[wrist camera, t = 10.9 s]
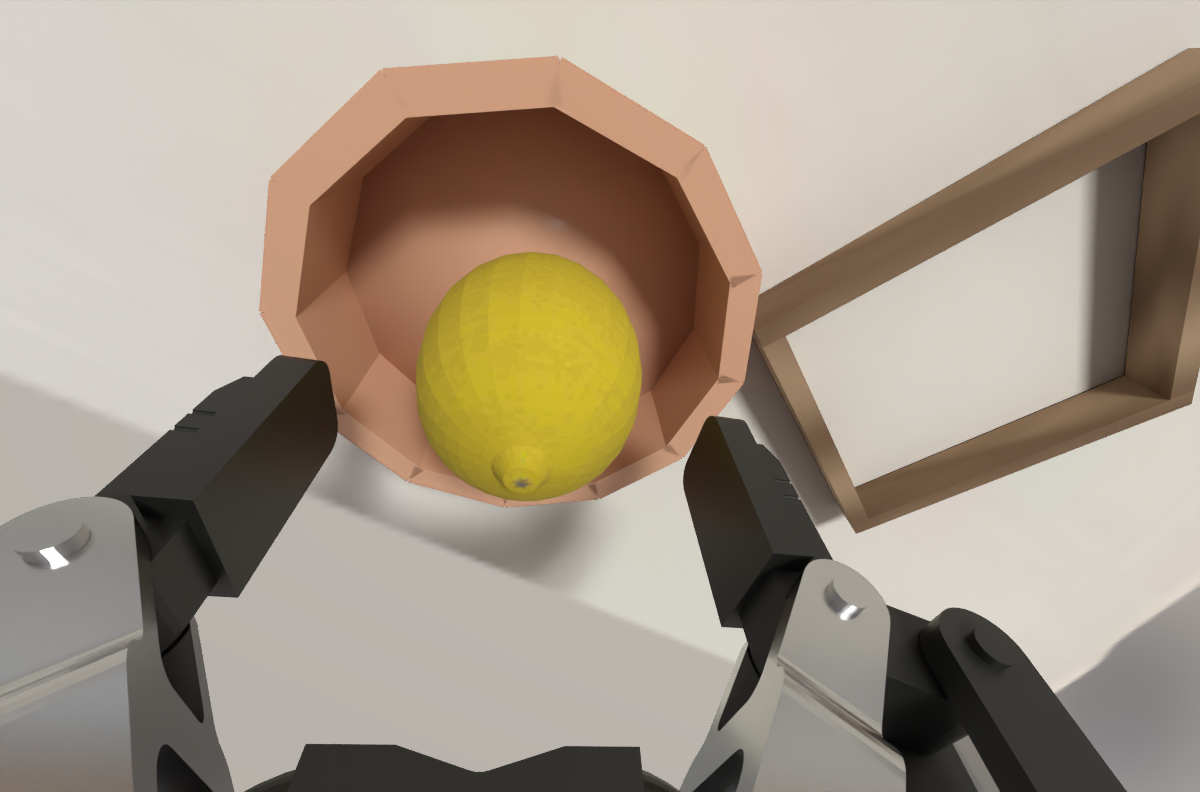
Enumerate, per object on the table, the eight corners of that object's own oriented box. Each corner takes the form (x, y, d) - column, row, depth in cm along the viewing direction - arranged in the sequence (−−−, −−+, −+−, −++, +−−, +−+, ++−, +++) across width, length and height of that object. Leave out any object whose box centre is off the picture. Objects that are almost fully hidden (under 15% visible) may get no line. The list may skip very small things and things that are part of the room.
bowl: (768, 331, 17) (816, 393, 14) (509, 472, 20) (499, 548, 17) (577, -67, 10) (582, -129, 7) (245, 243, 14) (149, 296, 11)
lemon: (454, 362, 16) (376, 560, 9) (458, 199, 13) (345, 329, 6) (605, 383, 17) (628, 577, 10) (643, 236, 14) (710, 383, 7)
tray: (1144, 378, 19) (1191, 403, 18) (838, 504, 23) (856, 533, 22) (1188, 48, 12) (1271, 45, 11) (737, 307, 16) (754, 331, 15)
